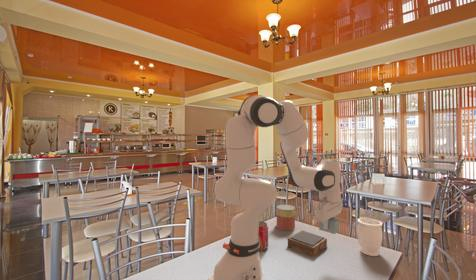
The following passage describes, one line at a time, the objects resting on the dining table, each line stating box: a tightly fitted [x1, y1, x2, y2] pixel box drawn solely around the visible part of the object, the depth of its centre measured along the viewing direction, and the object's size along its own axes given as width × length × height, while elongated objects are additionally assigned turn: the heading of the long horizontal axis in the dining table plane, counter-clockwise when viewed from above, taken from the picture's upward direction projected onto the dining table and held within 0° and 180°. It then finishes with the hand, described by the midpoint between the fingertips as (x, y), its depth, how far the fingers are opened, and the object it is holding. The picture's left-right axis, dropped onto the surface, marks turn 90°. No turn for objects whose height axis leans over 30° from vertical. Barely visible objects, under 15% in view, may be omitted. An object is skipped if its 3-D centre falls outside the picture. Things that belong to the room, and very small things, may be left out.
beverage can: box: [258, 220, 269, 251], centre depth 113 cm, size 8×8×12 cm
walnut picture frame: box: [287, 229, 328, 257], centre depth 114 cm, size 14×14×4 cm
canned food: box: [276, 204, 296, 231], centre depth 140 cm, size 11×11×12 cm
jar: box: [356, 217, 383, 257], centre depth 109 cm, size 11×10×15 cm
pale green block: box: [318, 218, 340, 235], centre depth 100 cm, size 4×7×5 cm, turn 44°
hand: (329, 226), depth 100 cm, fingers closed on pale green block, 4 cm apart
